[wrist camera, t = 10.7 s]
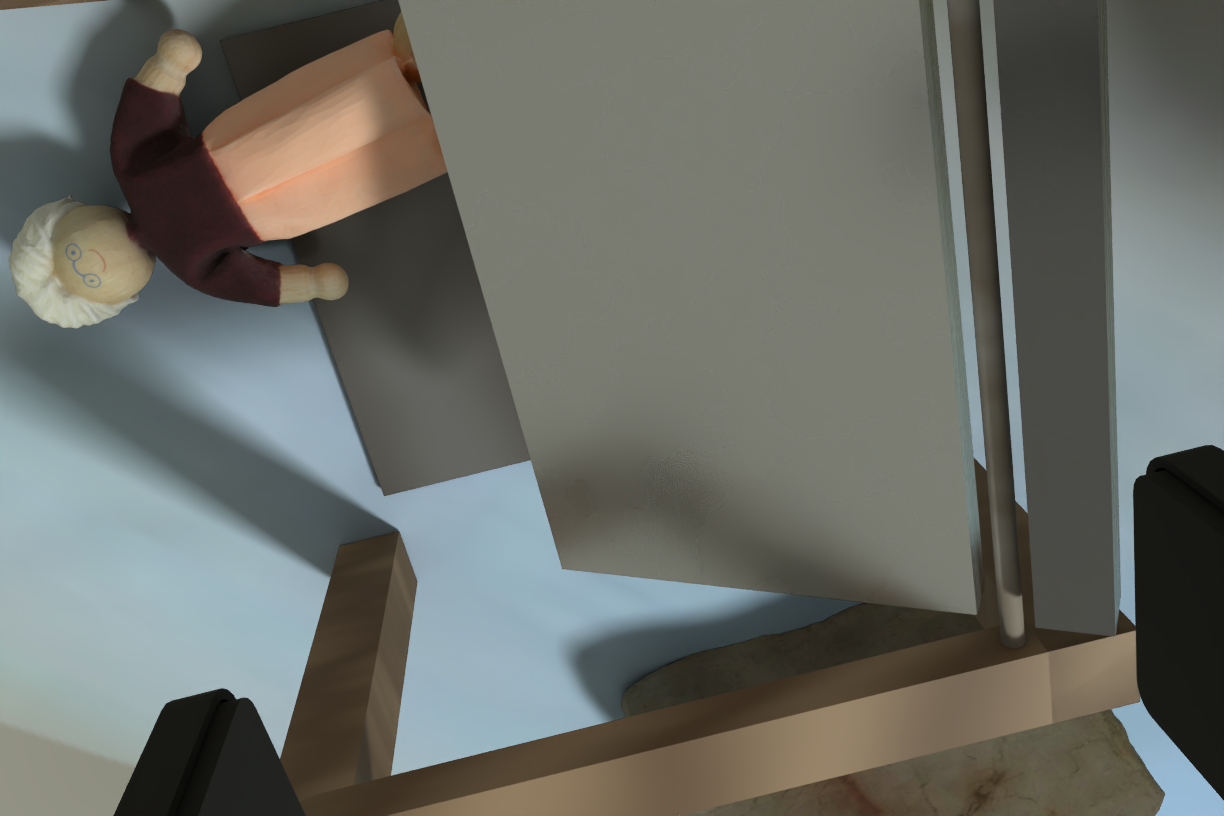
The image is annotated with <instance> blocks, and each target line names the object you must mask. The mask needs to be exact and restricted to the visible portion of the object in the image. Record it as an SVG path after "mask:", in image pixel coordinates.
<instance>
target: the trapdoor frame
mask: <svg viewBox="0 0 1224 816" xmlns="http://www.w3.org/2000/svg"><path fill="white" fill-rule="evenodd" d="M94 1H106V0H0V10H5V9H16V8H27V7H38V6H50V5H61V4H72V3H83V2H94ZM947 5H948V17H949V29H950V41H951V53H952V65H953V76H954V88H955V100H956V112H957V124H958V136H959V148H960V160H961V172H962V184H963V195H964V207H965V219H966V231H967V243H968V255H969V267H970V279H971V291H972V303H973V315H974V326H975V338H976V350H977V362H978V374H979V386H980V398H981V410H982V422H983V434H984V445H985V457H986V469H987V471H986V470H985V469H984V468H983V467H982V466H981V465H980V464H979V463H978V461H977V460H976V459H975V458H974V468H975V479H976V491H977V502H978V513H979V524H980V535H981V547H982V558H983V569H984V580H985V590H984V593H983V596H982V600H981V603H980V606H979V610H978V613H977V615H974V616H975V617H976V619H977V620H978V621H979V623H980V624H981V626H982V627H983V628H984V629H983V630H979V631H975V632H971V633H967V634H963V635H959V636H955V637H951V638H947V639H942V640H938V641H934V642H930V643H926V644H922V645H918V646H914V647H910V648H906V649H902V650H898V651H894V652H890V653H886V654H882V655H878V656H874V657H870V658H866V659H862V660H858V661H853V662H849V663H845V664H841V665H837V666H833V667H829V668H825V669H821V670H817V671H813V672H809V673H805V674H801V675H797V676H793V677H789V678H785V679H781V680H777V681H773V682H769V683H765V684H760V685H756V686H752V687H748V688H744V689H740V690H736V691H732V692H728V693H724V694H720V695H716V696H712V697H708V698H704V699H700V700H696V701H692V702H688V703H684V704H680V705H676V706H671V707H667V708H663V709H659V710H655V711H651V712H647V713H643V714H639V715H635V716H631V717H627V718H623V719H619V720H615V721H611V722H607V723H603V724H599V725H595V726H591V727H587V728H583V729H578V730H574V731H570V732H566V733H562V734H558V735H554V736H550V737H546V738H542V739H538V740H534V741H530V742H526V743H522V744H518V745H514V746H510V747H506V748H502V749H498V750H494V751H489V752H485V753H481V754H477V755H473V756H469V757H465V758H461V759H457V760H453V761H449V762H445V763H441V764H437V765H433V766H429V767H425V768H421V769H417V770H413V771H409V772H405V773H401V774H396V775H392V776H391V771H392V763H393V756H394V749H395V741H396V734H397V727H398V719H399V712H400V705H401V697H402V690H403V683H404V676H405V668H406V661H407V654H408V646H409V639H410V632H411V624H412V617H413V610H414V602H415V595H416V588H417V579H416V577H415V574H414V571H413V568H412V565H411V563H410V560H409V557H408V554H407V551H406V549H405V546H404V543H403V540H402V538H401V535H400V532H399V531H398V532H394V533H390V534H386V535H382V536H378V537H374V538H370V539H366V540H362V541H357V542H353V543H349V544H345V545H341V546H339V550H338V553H337V557H336V560H335V564H334V568H333V571H332V575H331V578H330V582H329V586H328V589H327V593H326V596H325V600H324V604H323V607H322V611H321V614H320V618H319V621H318V625H317V629H316V632H315V636H314V639H313V643H312V647H311V650H310V654H309V657H308V661H307V664H306V668H305V672H304V675H303V679H302V682H301V686H300V690H299V693H298V697H297V700H296V704H295V708H294V711H293V715H292V718H291V722H290V725H289V729H288V733H287V736H286V740H285V743H284V747H283V751H282V754H281V758H280V761H281V763H282V766H283V768H284V770H285V772H286V774H287V776H288V778H289V781H290V783H291V785H292V787H293V789H294V791H295V794H296V796H297V798H298V800H299V802H300V804H301V807H302V809H303V811H304V813H305V815H306V816H681V815H685V814H689V813H693V812H697V811H701V810H705V809H709V808H713V807H717V806H721V805H725V804H729V803H733V802H738V801H742V800H746V799H750V798H754V797H758V796H762V795H766V794H770V793H774V792H778V791H782V790H786V789H790V788H794V787H798V786H802V785H806V784H810V783H814V782H818V781H822V780H826V779H831V778H835V777H839V776H843V775H847V774H851V773H855V772H859V771H863V770H867V769H871V768H875V767H879V766H883V765H887V764H891V763H895V762H899V761H903V760H907V759H911V758H915V757H919V756H923V755H928V754H932V753H936V752H940V751H944V750H948V749H952V748H956V747H960V746H964V745H968V744H972V743H976V742H980V741H984V740H988V739H992V738H996V737H1000V736H1004V735H1008V734H1012V733H1016V732H1020V731H1025V730H1029V729H1033V728H1037V727H1041V726H1045V725H1049V724H1053V723H1057V722H1061V721H1065V720H1069V719H1073V718H1077V717H1081V716H1085V715H1089V714H1093V713H1097V712H1101V711H1105V710H1109V709H1113V708H1118V707H1122V706H1126V705H1130V704H1134V703H1138V702H1140V694H1139V690H1138V686H1137V673H1136V626H1135V625H1134V624H1133V623H1132V622H1131V621H1130V620H1129V619H1128V618H1127V617H1126V616H1125V615H1124V614H1123V613H1122V612H1121V611H1120V609H1119V614H1118V621H1117V629H1116V637H1114V636H1105V635H1096V634H1088V633H1079V632H1070V631H1061V630H1052V629H1044V628H1035V614H1034V599H1033V584H1032V569H1031V554H1030V539H1029V524H1028V514H1027V513H1026V512H1025V510H1024V509H1023V508H1022V507H1021V506H1020V505H1019V504H1018V503H1017V502H1016V501H1015V492H1014V478H1013V464H1012V450H1011V436H1010V422H1009V408H1008V394H1007V381H1006V367H1005V353H1004V339H1003V325H1002V311H1001V297H1000V284H999V270H998V256H997V242H996V228H995V214H994V200H993V186H992V173H991V159H990V145H989V131H988V117H987V103H986V89H985V75H984V62H983V48H982V34H981V20H980V6H979V0H947ZM400 13H401V8H400V5H399V1H398V0H383V1H379V2H375V3H371V4H366V5H362V6H358V7H354V8H350V9H346V10H342V11H338V12H334V13H330V14H326V15H322V16H318V17H314V18H310V19H306V20H302V21H297V22H293V23H289V24H285V25H281V26H277V27H273V28H269V29H265V30H261V31H257V32H253V33H249V34H245V35H241V36H237V37H233V38H228V39H224V40H221V41H220V42H221V45H222V48H223V51H224V54H225V56H226V59H227V62H228V65H229V67H230V70H231V73H232V76H233V79H234V81H235V84H236V87H237V90H238V92H239V95H240V98H241V101H242V100H244V99H245V98H247V97H249V96H251V95H252V94H254V93H256V92H258V91H260V90H262V89H264V88H266V87H267V86H269V85H271V84H273V83H275V82H277V81H278V80H280V79H281V78H283V77H285V76H286V75H288V74H289V73H291V72H293V71H295V70H297V69H299V68H301V67H303V66H305V65H307V64H309V63H311V62H313V61H315V60H317V59H320V58H322V57H324V56H326V55H328V54H330V53H333V52H335V51H337V50H340V49H342V48H344V47H347V46H349V45H351V44H353V43H355V42H357V41H360V40H362V39H364V38H366V37H369V36H371V35H373V34H376V33H378V32H381V31H384V30H390V31H391V32H392V33H393V35H394V27H395V23H396V20H397V18H398V16H399V14H400ZM416 83H417V86H418V88H419V90H420V92H421V95H422V98H423V100H424V103H425V104H426V106H427V108H428V110H429V113H430V114H431V112H430V109H429V105H428V102H427V98H426V95H425V91H424V88H423V84H422V82H416ZM291 239H292V242H293V245H294V248H295V251H296V253H297V256H298V259H299V262H300V264H301V265H306V266H309V267H315V266H317V265H320V264H323V263H334V264H337V265H339V266H341V267H342V268H343V269H344V271H345V272H346V274H347V276H348V289H347V292H346V293H345V295H343V296H342V297H341V298H339V299H336V300H325V299H322V298H318V297H316V298H313V300H314V303H315V306H316V309H317V312H318V314H319V317H320V320H321V323H322V325H323V328H324V331H325V334H326V336H327V339H328V342H329V345H330V348H331V350H332V353H333V356H334V359H335V361H336V364H337V367H338V370H339V373H340V375H341V378H342V381H343V384H344V386H345V389H346V392H347V395H348V398H349V400H350V403H351V406H352V409H353V411H354V414H355V417H356V420H357V422H358V425H359V428H360V431H361V434H362V436H363V439H364V442H365V445H366V447H367V450H368V453H369V456H370V459H371V461H372V464H373V467H374V470H375V472H376V475H377V478H378V481H379V484H380V486H381V489H382V492H383V495H384V496H387V495H391V494H395V493H399V492H403V491H407V490H411V489H415V488H419V487H423V486H427V485H431V484H435V483H440V482H444V481H448V480H452V479H456V478H460V477H464V476H468V475H472V474H476V473H480V472H484V471H488V470H492V469H496V468H500V467H504V466H508V465H512V464H516V463H521V462H525V461H529V460H531V459H530V455H529V452H528V448H527V445H526V441H525V438H524V434H523V431H522V427H521V424H520V420H519V417H518V414H517V410H516V407H515V403H514V400H513V396H512V393H511V389H510V386H509V382H508V379H507V375H506V372H505V368H504V365H503V362H502V358H501V355H500V351H499V348H498V344H497V341H496V337H495V334H494V330H493V327H492V323H491V320H490V316H489V313H488V310H487V306H486V303H485V299H484V296H483V292H482V289H481V285H480V282H479V278H478V275H477V271H476V268H475V265H474V261H473V258H472V254H471V251H470V247H469V244H468V240H467V237H466V233H465V230H464V226H463V223H462V219H461V216H460V213H459V209H458V206H457V202H456V199H455V195H454V192H453V188H452V185H451V181H450V178H449V174H448V172H447V173H445V174H443V175H440V176H438V177H436V178H434V179H432V180H430V181H428V182H425V183H423V184H421V185H419V186H417V187H415V188H413V189H411V190H409V191H407V192H405V193H402V194H400V195H397V196H395V197H392V198H390V199H388V200H385V201H383V202H380V203H378V204H376V205H374V206H371V207H369V208H366V209H364V210H361V211H359V212H357V213H354V214H352V215H350V216H347V217H345V218H343V219H341V220H338V221H336V222H334V223H331V224H328V225H326V226H323V227H321V228H318V229H315V230H312V231H309V232H307V233H305V234H302V235H299V236H296V237H293V238H291Z"/></svg>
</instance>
